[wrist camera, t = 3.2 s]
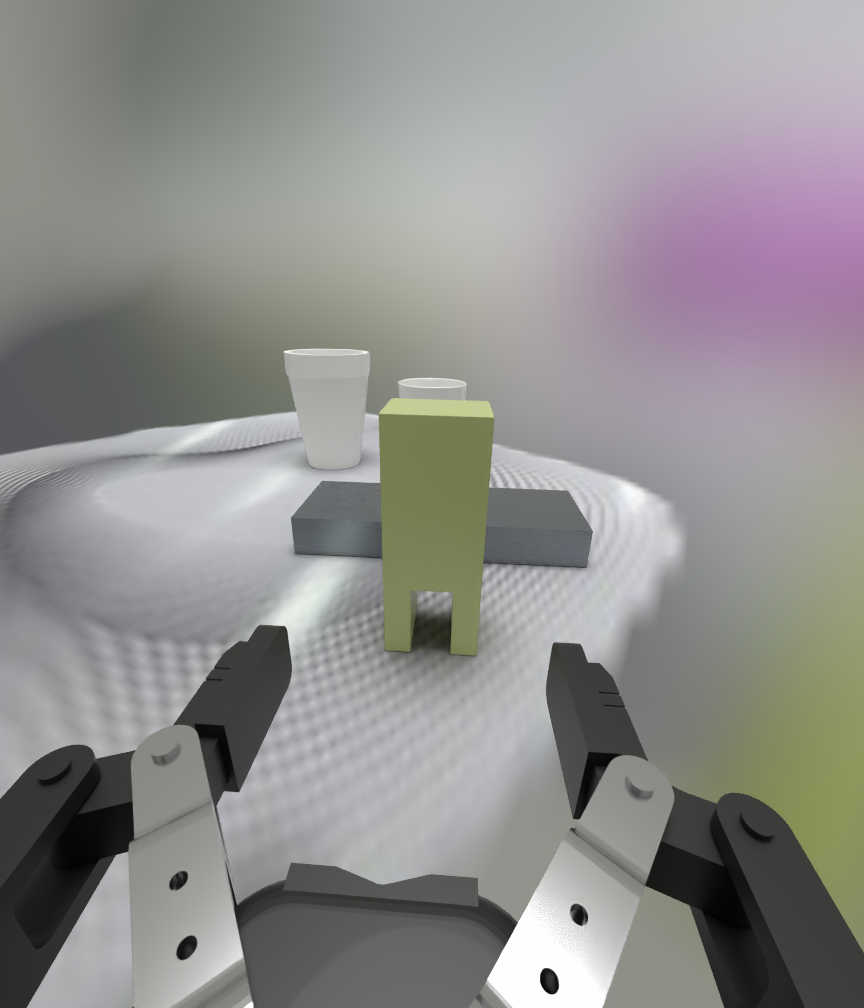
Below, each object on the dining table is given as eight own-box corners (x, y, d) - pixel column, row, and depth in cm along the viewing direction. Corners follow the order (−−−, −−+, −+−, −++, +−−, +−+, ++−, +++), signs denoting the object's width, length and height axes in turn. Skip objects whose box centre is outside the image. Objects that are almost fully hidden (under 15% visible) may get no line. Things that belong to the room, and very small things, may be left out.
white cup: (443, 480, 50) (446, 389, 46) (385, 468, 53) (384, 383, 49) (473, 462, 56) (477, 381, 52) (419, 452, 60) (420, 376, 56)
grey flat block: (295, 553, 34) (291, 517, 33) (324, 511, 41) (322, 480, 40) (586, 567, 33) (592, 531, 32) (563, 521, 40) (567, 490, 39)
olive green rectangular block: (384, 650, 24) (378, 413, 19) (394, 606, 28) (391, 398, 23) (476, 655, 24) (494, 417, 19) (474, 610, 28) (488, 401, 23)
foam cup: (310, 449, 60) (301, 348, 55) (378, 452, 59) (375, 350, 54) (284, 472, 51) (270, 354, 46) (363, 475, 51) (358, 356, 45)
